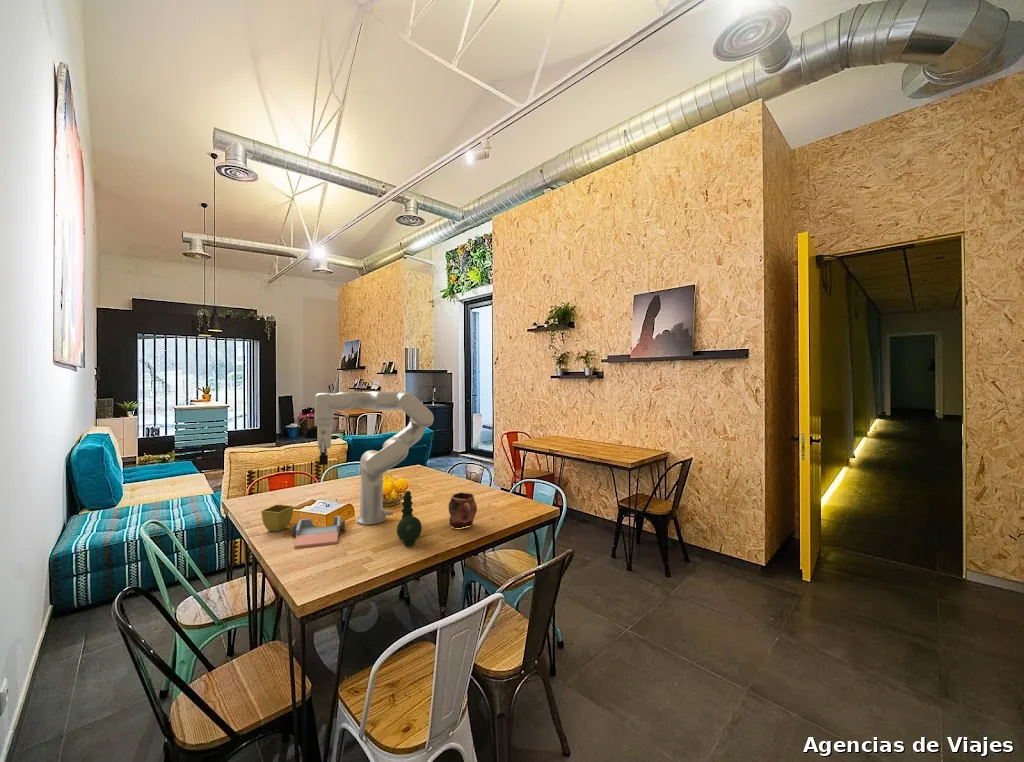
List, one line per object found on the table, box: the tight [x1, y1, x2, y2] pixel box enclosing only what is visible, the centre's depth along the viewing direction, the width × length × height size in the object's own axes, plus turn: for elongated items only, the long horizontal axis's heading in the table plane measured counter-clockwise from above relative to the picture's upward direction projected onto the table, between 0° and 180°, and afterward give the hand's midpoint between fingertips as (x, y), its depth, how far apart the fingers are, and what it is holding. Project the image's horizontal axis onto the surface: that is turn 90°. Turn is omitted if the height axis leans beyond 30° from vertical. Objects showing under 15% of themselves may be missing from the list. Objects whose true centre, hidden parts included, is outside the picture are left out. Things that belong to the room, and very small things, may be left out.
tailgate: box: [293, 531, 340, 549], centre depth 165 cm, size 1×16×8 cm
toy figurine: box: [396, 490, 423, 547], centre depth 169 cm, size 9×19×25 cm
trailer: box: [291, 515, 346, 537], centre depth 177 cm, size 16×20×4 cm
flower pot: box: [260, 504, 294, 532], centre depth 178 cm, size 9×9×9 cm
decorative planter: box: [448, 492, 478, 528], centre depth 185 cm, size 20×12×14 cm, turn 29°
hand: (323, 464), depth 181 cm, fingers closed
